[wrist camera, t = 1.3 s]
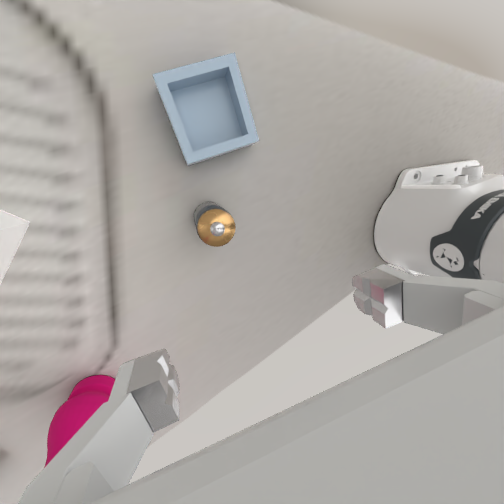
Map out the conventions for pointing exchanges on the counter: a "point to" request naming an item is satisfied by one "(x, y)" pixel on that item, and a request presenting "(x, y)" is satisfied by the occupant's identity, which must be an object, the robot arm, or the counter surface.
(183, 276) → the counter surface
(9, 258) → the milk
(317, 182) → the counter surface
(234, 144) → the light blue square tray
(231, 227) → the cell
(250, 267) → the counter surface
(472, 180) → the robot arm
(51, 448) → the pepper mill
